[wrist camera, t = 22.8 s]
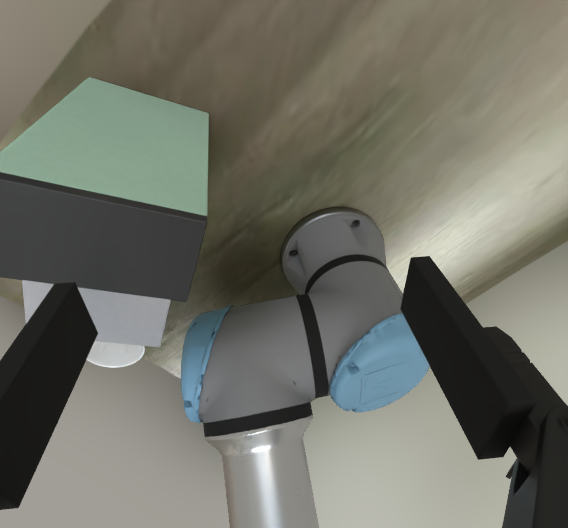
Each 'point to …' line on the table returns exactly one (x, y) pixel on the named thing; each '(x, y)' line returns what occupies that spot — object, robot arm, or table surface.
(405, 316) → the robot arm
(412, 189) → the table surface
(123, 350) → the white cup
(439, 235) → the table surface
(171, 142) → the coffee machine
